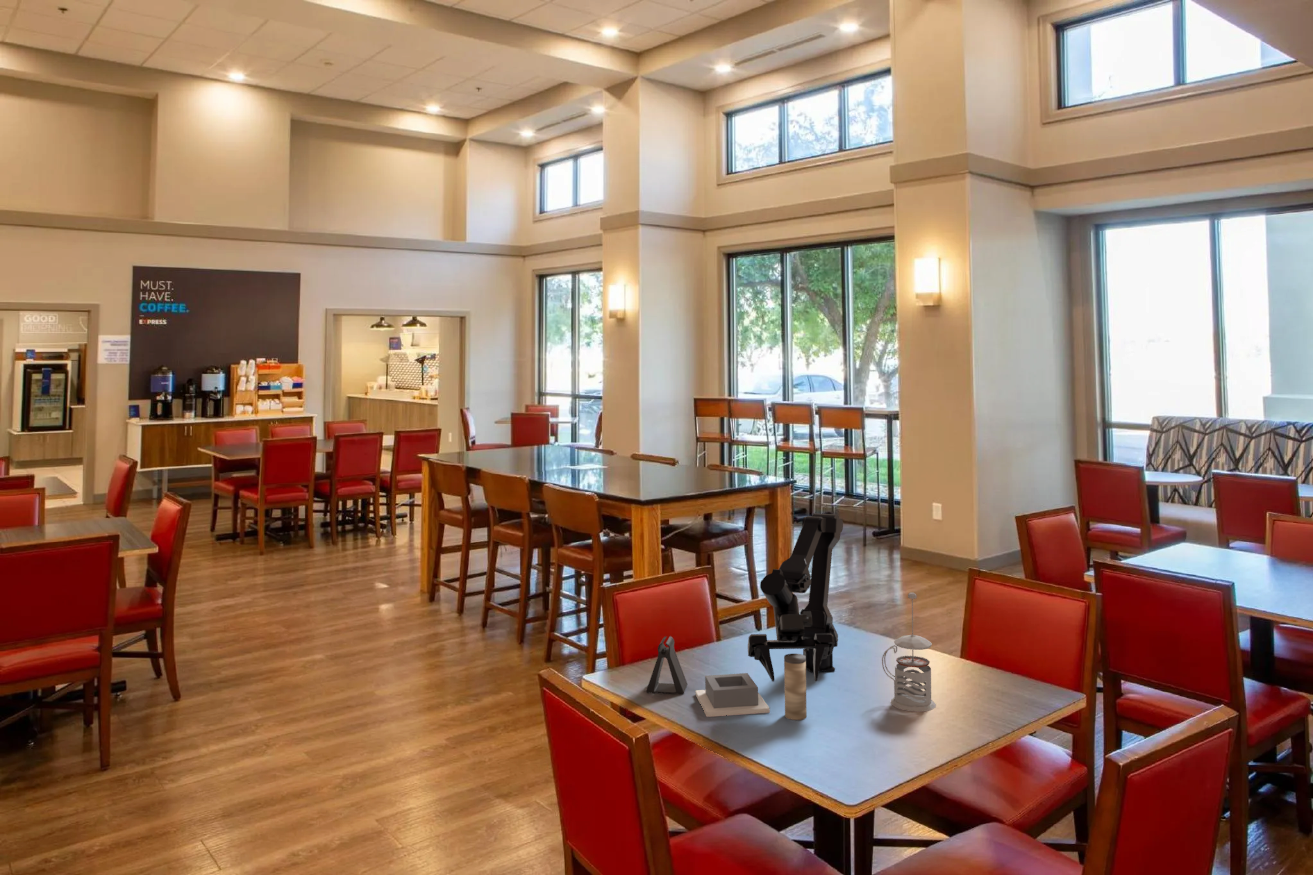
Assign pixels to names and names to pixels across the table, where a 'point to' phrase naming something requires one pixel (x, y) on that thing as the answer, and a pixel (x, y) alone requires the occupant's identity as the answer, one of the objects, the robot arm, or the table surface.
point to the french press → (911, 674)
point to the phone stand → (675, 671)
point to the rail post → (795, 686)
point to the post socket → (731, 696)
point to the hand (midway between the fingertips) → (794, 680)
